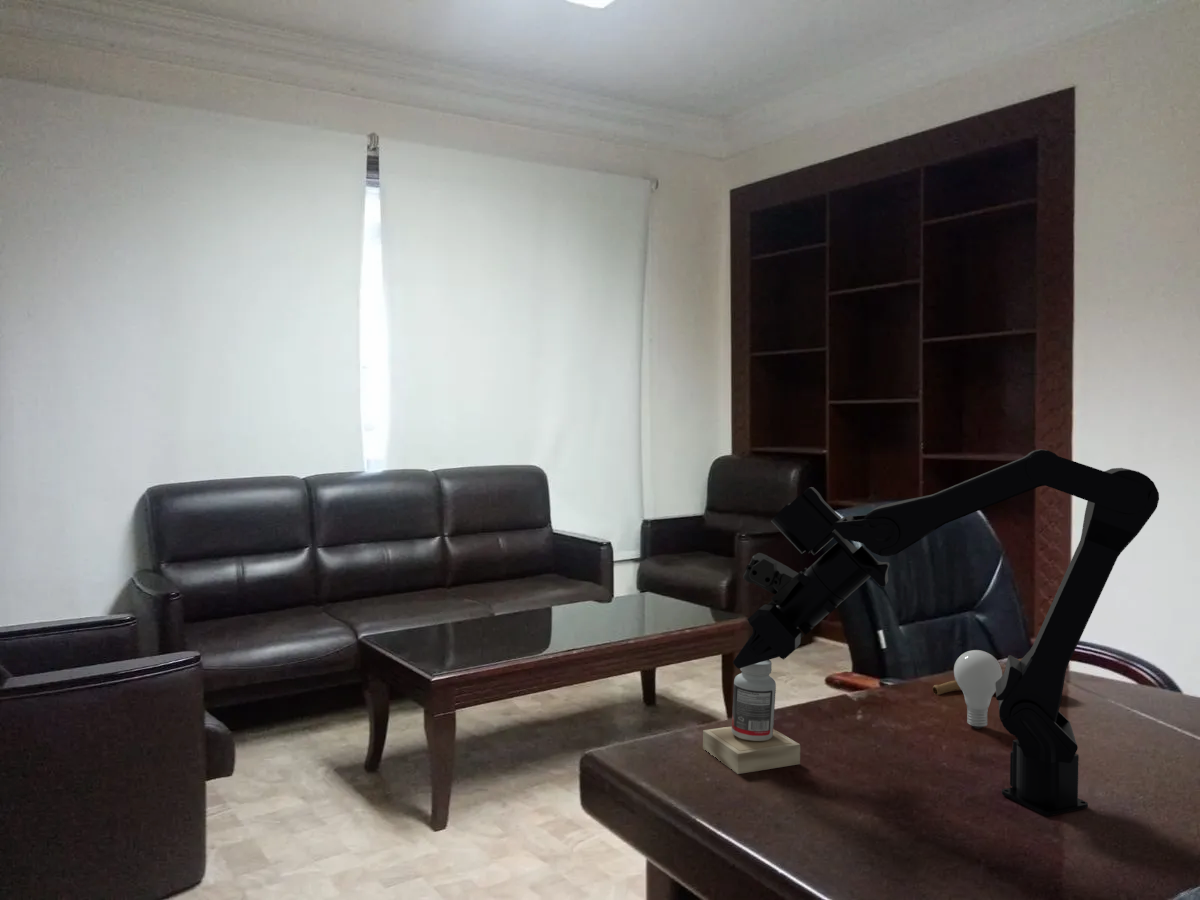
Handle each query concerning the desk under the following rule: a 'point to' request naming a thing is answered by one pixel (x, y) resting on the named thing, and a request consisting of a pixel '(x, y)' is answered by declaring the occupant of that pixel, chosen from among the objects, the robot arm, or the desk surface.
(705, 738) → the plinth
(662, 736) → the desk surface
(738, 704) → the pill bottle
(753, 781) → the desk surface
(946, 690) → the pipe
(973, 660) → the lightbulb
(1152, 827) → the desk surface
